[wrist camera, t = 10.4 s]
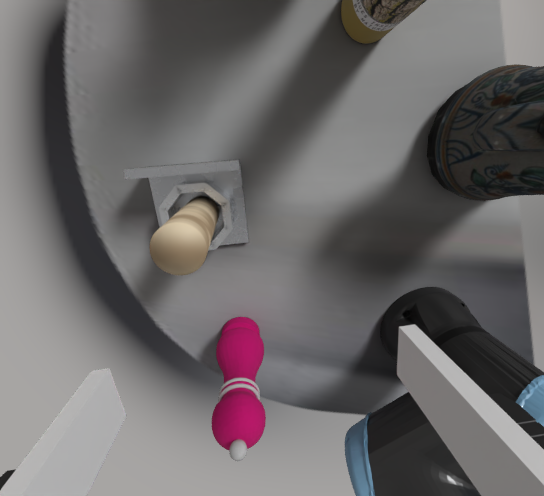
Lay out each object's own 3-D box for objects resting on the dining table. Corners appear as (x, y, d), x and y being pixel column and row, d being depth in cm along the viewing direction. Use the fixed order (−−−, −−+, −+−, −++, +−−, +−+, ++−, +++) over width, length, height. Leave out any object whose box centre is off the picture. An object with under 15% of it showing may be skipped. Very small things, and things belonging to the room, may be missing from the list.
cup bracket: (248, 240, 40) (249, 259, 32) (166, 248, 39) (148, 270, 32) (239, 159, 36) (238, 160, 29) (148, 166, 35) (122, 169, 28)
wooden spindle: (221, 226, 38) (210, 272, 23) (188, 229, 37) (156, 278, 22) (216, 194, 36) (202, 220, 21) (183, 197, 36) (143, 226, 21)
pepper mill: (250, 306, 44) (254, 421, 25) (269, 338, 46) (286, 465, 27) (210, 325, 44) (185, 452, 25) (232, 356, 46) (223, 493, 28)
